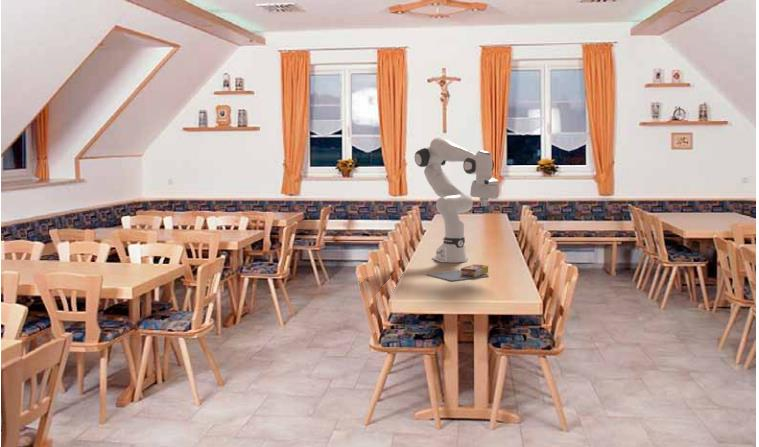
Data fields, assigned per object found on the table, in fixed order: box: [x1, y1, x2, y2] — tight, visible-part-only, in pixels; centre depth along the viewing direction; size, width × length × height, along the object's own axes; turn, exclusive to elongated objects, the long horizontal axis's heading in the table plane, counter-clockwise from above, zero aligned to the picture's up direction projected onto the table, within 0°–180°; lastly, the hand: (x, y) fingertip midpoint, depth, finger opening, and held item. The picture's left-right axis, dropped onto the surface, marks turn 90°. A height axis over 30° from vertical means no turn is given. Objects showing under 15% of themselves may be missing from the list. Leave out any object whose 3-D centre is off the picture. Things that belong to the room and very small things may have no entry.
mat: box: [426, 269, 489, 283], centre depth 409 cm, size 22×24×1 cm
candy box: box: [460, 263, 489, 277], centre depth 410 cm, size 9×4×15 cm
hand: (484, 206), depth 425 cm, fingers closed
